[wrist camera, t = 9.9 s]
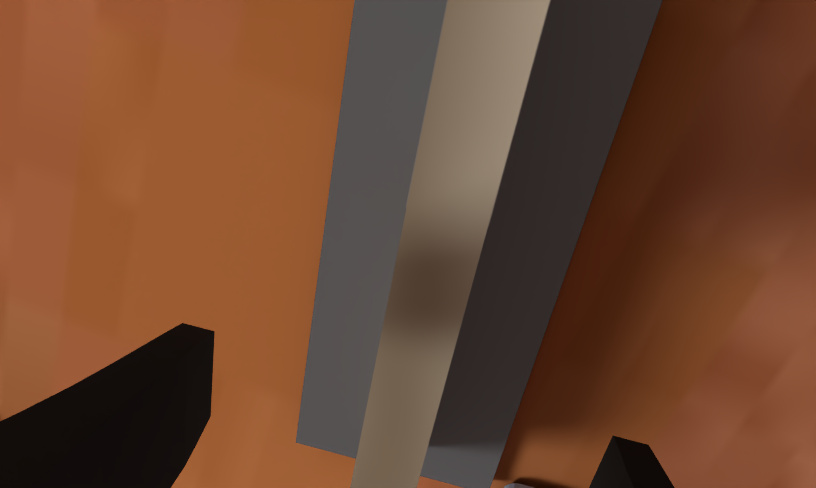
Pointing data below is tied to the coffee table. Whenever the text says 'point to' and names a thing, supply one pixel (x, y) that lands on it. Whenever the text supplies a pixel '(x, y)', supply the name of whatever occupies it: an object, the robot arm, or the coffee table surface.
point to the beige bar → (445, 225)
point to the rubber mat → (506, 235)
